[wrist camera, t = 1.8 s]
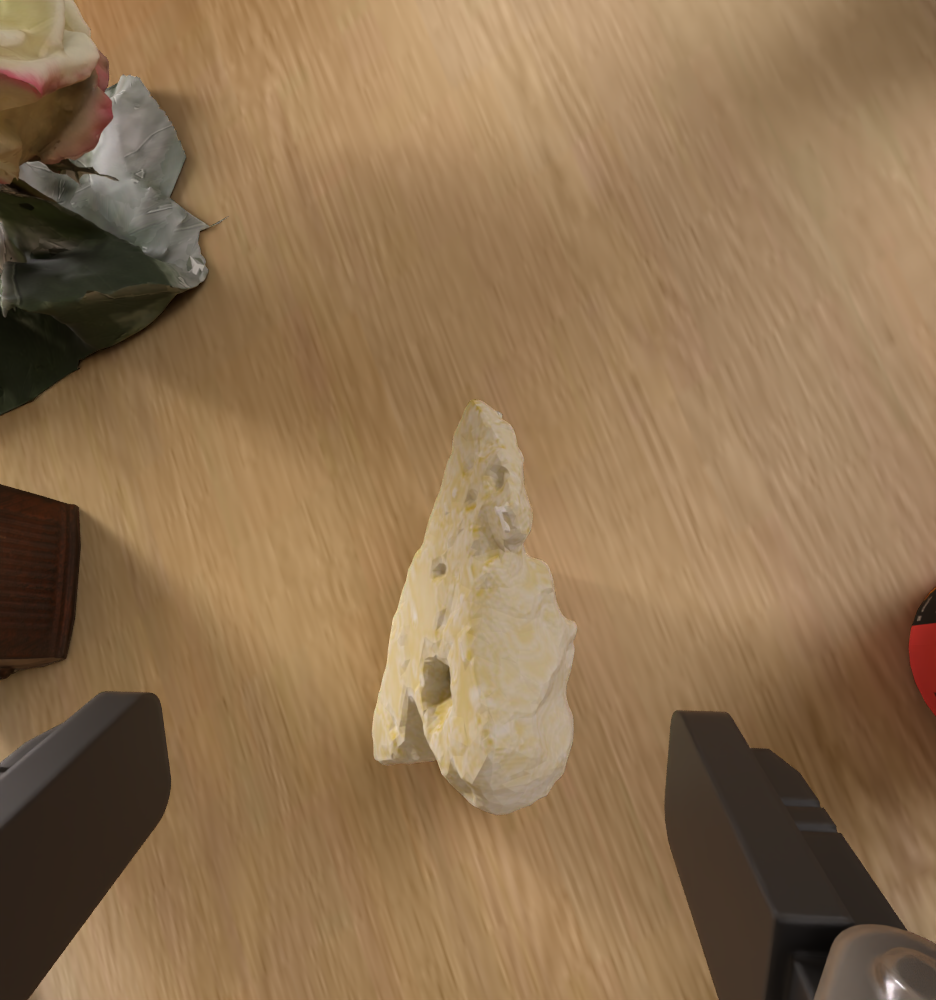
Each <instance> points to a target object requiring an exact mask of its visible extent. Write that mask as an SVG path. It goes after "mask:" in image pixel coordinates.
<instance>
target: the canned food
mask: <svg viewBox="0 0 936 1000" xmlns="http://www.w3.org/2000/svg"><path fill="white" fill-rule="evenodd" d="M909 659H910V666H911V670H912V673H913V676H914V680H915V683H916V685H917V687H918V689H919V691H920V693H921V695H922V697H923V699H924V700H925V702H926V704H927V705H928V707H929V708H930V709H931V711H932V712H933V713H934V715H935V716H936V587H935V588H934V589H933V590H932V591H931V592H930V593H929V594H928V595H927V597H926V598H925V600H924V601H923V603H922V604H921V606H920V607H919V609H918V611H917V614H916V616H915V619H914V622H913V624H912V627H911V632H910V639H909Z"/></svg>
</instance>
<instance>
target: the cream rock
mask: <svg viewBox="0 0 936 1000" xmlns="http://www.w3.org/2000/svg"><path fill="white" fill-rule="evenodd" d="M523 462H524V458H523V455H522V452H521V451H520V449H519V448H518V446H517V440H516V436H515V432H514V429H513V428H512V426H511V425H510V424H509V423H508V422H506V421H504V420H503V419H502V413H500V412H498V411H495V410H494V409H493V408H491V407H490V406H489V405H487V404H486V403H485V402H484V401H482V400H476V399H475V400H471V401H469V403H468V405H467V406H466V408H465V410H464V412H463V415H462V418H461V420H460V422H459V424H458V426H457V428H456V431H455V433H454V436H453V441H452V452H451V455H450V457H449V459H448V462H447V465H446V468H445V471H444V476H443V480H442V484H441V488H440V491H439V493H438V496H437V498H436V501H435V504H434V507H433V510H432V513H431V515H430V518H429V521H428V524H427V528H426V532H425V537H424V541H423V544H422V546H421V547H420V549H419V550H418V551H417V552H416V554H415V555H414V557H413V560H412V563H411V566H410V567H409V569H408V573H407V579H406V583H405V585H404V587H403V590H402V593H401V597H400V601H399V605H398V609H397V612H396V613H395V615H394V616H393V622H392V628H391V634H390V640H389V646H388V656H387V664H386V668H385V671H384V675H383V679H382V683H381V688H380V691H379V694H378V700H377V705H376V708H375V711H374V717H373V726H372V738H373V744H374V758H375V760H378V761H379V762H380V763H381V764H382V765H394V764H400V763H403V764H413V763H420V762H432V761H435V760H437V762H438V765H439V768H440V770H441V773H442V775H443V776H444V777H445V778H446V779H447V780H448V782H449V783H450V784H451V785H452V786H453V787H454V788H455V789H456V790H457V791H458V792H459V793H460V794H462V795H463V796H464V797H465V798H466V799H467V801H468V802H469V803H470V804H472V805H473V806H475V807H476V808H479V809H481V810H483V811H486V812H488V813H491V814H494V815H505V814H509V813H512V812H514V811H516V810H519V809H521V808H524V807H527V806H530V805H532V804H533V803H534V802H535V801H537V800H538V799H540V798H543V797H545V796H547V794H548V793H549V791H550V790H551V788H552V786H553V785H554V783H555V782H556V781H557V780H558V779H560V778H561V776H562V775H563V774H564V771H565V767H566V763H567V759H568V756H569V753H570V750H571V747H572V743H573V733H574V719H573V715H572V712H571V710H570V708H569V705H568V702H567V698H566V689H567V682H568V679H569V676H570V672H571V668H572V663H573V657H574V651H575V647H574V644H573V640H574V639H575V637H576V632H577V625H576V623H575V622H574V621H573V620H568V619H566V618H565V617H564V616H563V615H562V613H561V612H560V609H559V606H558V603H557V601H556V595H555V588H554V581H553V577H552V574H551V571H550V569H549V566H548V565H547V564H546V563H545V562H544V561H542V560H540V559H536V558H533V557H531V556H529V555H527V554H526V552H525V548H524V545H523V543H524V541H525V539H526V537H527V536H528V535H529V533H530V531H531V526H532V520H533V511H532V508H531V505H530V502H529V499H528V495H527V492H526V489H525V486H524V471H523Z"/></svg>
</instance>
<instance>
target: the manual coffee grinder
mask: <svg viewBox="0 0 936 1000" xmlns="http://www.w3.org/2000/svg"><path fill="white" fill-rule="evenodd" d="M80 547H81V546H80V523H79V507H77V506H76V505H74V504H67V503H63V502H60V501H57V500H54V499H50V498H47V497H44V496H40V495H37V494H33V493H30V492H26V491H22V490H19V489H15V488H12V487H8V486H4V485H1V484H0V679H4V678H7V677H8V676H9V675H10V674H12V673H15V672H17V671H19V670H23V669H29V668H36V667H43V666H46V665H49V664H51V663H54V662H57V661H60V660H63V659H65V658H66V657H67V652H68V647H69V643H70V638H71V633H72V629H73V624H74V619H75V609H76V597H77V585H78V572H79V559H80Z"/></svg>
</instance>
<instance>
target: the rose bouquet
mask: <svg viewBox="0 0 936 1000" xmlns="http://www.w3.org/2000/svg"><path fill="white" fill-rule="evenodd" d="M90 37H91V29H90V28H89V27H88V25H87V24H86V22H85V21H84V19H83V17H82V15H81V13H80V11H79V9H78V7H77V6H76V4H75V3H74V1H73V0H0V415H1V414H3V413H5V412H7V411H9V410H11V409H14V408H16V407H18V406H20V405H22V404H24V403H26V402H28V401H32V400H33V399H34V398H35V397H36V396H38V395H39V394H40V393H42V392H43V391H45V390H46V389H47V388H49V387H50V386H52V385H53V384H54V383H56V382H57V381H59V380H60V379H62V378H63V377H65V376H66V375H68V374H69V373H71V372H73V371H75V370H78V369H80V368H78V369H77V367H78V362H79V359H85V358H86V357H87V356H88V355H90V354H92V353H94V352H96V351H98V350H99V349H104V348H107V347H111V346H113V345H115V344H117V343H119V342H121V341H123V340H125V339H126V338H128V337H130V336H132V335H134V334H136V333H137V332H139V331H140V330H142V329H144V328H145V327H146V326H147V325H149V324H150V323H152V322H153V321H154V320H155V319H156V318H157V317H158V316H159V315H160V314H161V313H162V312H163V311H164V310H165V308H166V307H167V305H168V304H169V302H170V301H171V300H172V299H173V298H174V297H175V296H176V295H177V294H179V293H183V292H184V291H187V290H189V289H193V288H195V287H197V286H198V285H199V283H200V282H203V281H204V280H205V278H206V276H207V274H208V271H209V270H208V269H207V267H206V266H205V263H206V259H205V258H204V257H203V256H202V255H201V254H200V253H201V251H200V247H199V244H198V239H199V232H200V231H201V230H204V229H206V228H209V227H211V226H214V225H216V224H219V223H220V222H221V221H223V220H224V219H225V218H224V219H222V220H221V221H219V222H217V223H215V224H213V225H211V226H209V225H207V224H205V223H204V222H202V221H201V220H199V219H198V218H196V217H195V216H193V215H191V214H190V213H188V212H187V211H186V210H185V209H183V208H182V207H181V206H179V205H178V204H177V203H176V202H174V201H173V200H172V199H171V198H170V195H171V193H172V190H173V188H174V185H175V183H176V181H177V178H178V176H179V173H180V171H181V168H182V166H183V163H184V161H185V159H186V155H185V151H184V150H183V148H182V145H181V141H179V140H178V138H177V134H176V130H174V127H173V126H172V122H171V121H168V120H169V118H168V116H165V112H164V111H163V110H161V109H159V107H160V106H159V105H158V103H157V102H156V100H155V99H153V96H151V97H150V92H149V91H148V90H147V88H146V87H145V86H144V84H143V83H142V81H141V80H140V78H138V77H137V76H136V77H134V76H131V75H128V76H127V77H126V76H125V75H122V76H121V77H120V80H119V82H118V83H117V84H115V85H113V86H111V87H109V88H107V86H108V81H109V61H108V59H107V58H106V57H105V56H104V55H103V54H102V53H101V52H100V51H99V50H98V49H97V47H96V45H95V43H94V42H93V41H92V40H91V39H90ZM106 88H107V89H106ZM226 218H227V217H226Z"/></svg>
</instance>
